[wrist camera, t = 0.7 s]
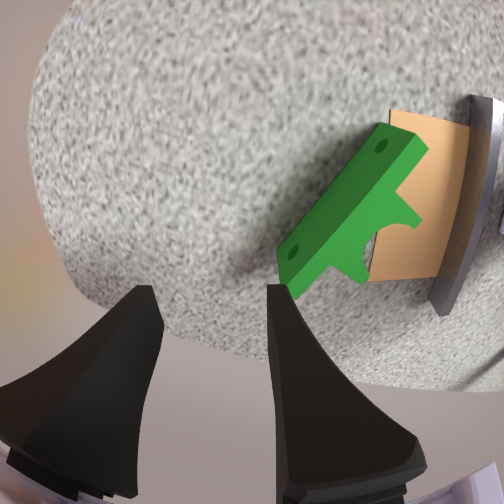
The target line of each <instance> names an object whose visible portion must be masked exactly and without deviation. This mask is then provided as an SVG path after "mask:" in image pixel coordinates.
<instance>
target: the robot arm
mask: <svg viewBox="0 0 504 504" xmlns="http://www.w3.org/2000/svg"><path fill="white" fill-rule="evenodd" d="M499 230H500V233H501V234H504V215H503V219H502V222H501V225H500V229H499ZM163 331H164V322H163V319H162V316H161V313H160V310H159V307H158V304H157V301H156V298H155V295H154V292H153V288H152V286H149V285H137V286H136V287H134V288H133V289H132V290H131V291H130V292H129V293H128V294H126V295H125V296H124V297H123V298H122V299H121V300H120V301H119V302H118V303H117V304H116V305H115V306H114V307H113V308H112V309H111V310H110V311H108V312H107V313H106V314H105V315H104V316H103V317H102V318H101V319H100V320H99V321H98V322H97V323H96V324H95V325H94V326H92V327H91V328H90V329H89V330H88V331H87V332H85V333H84V334H83V335H82V336H81V337H80V338H79V339H78V340H77V341H75V342H74V343H73V344H71V345H70V346H69V347H68V348H66V349H65V350H64V351H62V352H61V353H60V354H58V355H57V356H55V357H54V358H52V359H51V360H50V361H48V362H46V363H45V364H43V365H42V366H40V367H39V368H37V369H36V370H34V371H32V372H30V373H29V374H27V375H25V376H23V377H21V378H19V379H17V380H15V381H13V382H11V383H9V384H7V385H4V386H2V387H0V440H1V441H2V442H4V443H5V444H6V445H8V446H9V447H11V448H10V451H9V453H8V452H6V451H5V450H3V449H1V448H0V504H69V503H70V504H113V503H109V502H107V501H104V500H103V495H105V496H108V497H111V498H113V496H114V494H115V495H119V496H122V497H125V498H129V499H131V498H134V497H135V496H137V495H138V488H137V459H138V443H139V433H140V425H141V418H142V411H143V406H144V401H145V397H146V394H147V391H148V387H149V384H150V381H151V377H152V374H153V371H154V368H155V365H156V361H157V358H158V355H159V351H160V347H161V343H162V337H163ZM267 336H268V356H269V364H270V372H271V379H272V388H273V395H274V403H275V416H276V417H275V418H276V504H504V498H503V493H502V489H501V484H500V480H499V476H498V472H497V468H496V465H495V462H494V461H493V462H490V463H489V464H487V465H485V466H484V467H482V468H480V469H478V470H477V471H475V472H473V473H471V474H469V475H467V476H465V477H463V478H461V479H459V480H458V481H456V482H454V483H452V484H451V485H448V486H446V487H444V488H442V489H439V490H437V491H435V492H432V493H430V494H428V495H425V496H423V497H421V498H418V499H415V500H412V501H410V502H406V503H404V499H403V495H405V494H406V492H407V490H406V484H405V483H406V482H408V481H410V480H412V479H414V478H416V477H417V476H419V475H421V474H422V473H424V471H425V470H426V468H427V464H426V460H425V456H424V453H423V451H422V448H421V446H420V443H419V441H418V439H417V437H416V436H415V435H413V434H412V433H410V432H409V431H408V430H406V429H405V428H403V427H402V426H400V425H399V424H398V423H396V422H395V421H394V420H392V419H391V418H390V417H389V416H387V415H386V414H385V413H384V412H382V411H381V410H380V409H379V408H378V407H376V406H375V405H374V404H373V403H372V402H371V401H370V400H369V399H368V398H367V397H366V396H365V395H364V394H363V393H362V392H361V391H359V390H358V389H357V388H356V387H355V386H354V385H353V384H352V383H351V382H350V380H349V379H348V378H347V377H346V376H345V375H344V374H343V373H342V372H341V371H340V369H339V368H338V367H337V366H336V365H335V363H334V362H333V361H332V360H331V358H330V357H329V356H328V355H327V353H326V352H325V351H324V349H323V348H322V347H321V345H320V344H319V342H318V341H317V339H316V338H315V337H314V335H313V334H312V332H311V330H310V329H309V327H308V326H307V324H306V322H305V321H304V319H303V317H302V316H301V314H300V312H299V310H298V308H297V306H296V304H295V303H294V300H293V298H292V296H291V294H290V291H289V289H288V286H286V285H285V284H269V285H267Z"/></svg>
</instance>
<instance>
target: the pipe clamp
mask: <svg viewBox="0 0 504 504" xmlns="http://www.w3.org/2000/svg"><path fill="white" fill-rule="evenodd" d="M428 150H429V148H428V147H427V145H426V144H425V143H424V142H423V141H422V140H421V138H420V137H419V136H418V135H417V134H416V133H413V132H410V131H407V130H404V129H402V128H399V127H396V126H393V125H389V124H386V123H383V122H381V123H380V124H379V125H378V126H377V128H376V129H375V130H374V131H373V133H372V134H371V135H370V136H369V138H368V139H367V140H366V141H365V143H364V144H363V145H362V146H361V148H360V149H359V150H358V152H357V153H356V154H355V155H354V157H353V158H352V159H351V160H350V161H349V163H348V164H347V165H346V166H345V168H344V169H343V170H342V171H341V173H340V174H339V175H338V176H337V178H336V179H335V180H334V181H333V183H332V184H331V185H330V186H329V187H328V189H327V190H326V191H325V192H324V194H323V195H322V196H321V197H320V199H319V200H318V201H317V202H316V203H315V205H314V206H313V207H312V208H311V210H310V211H309V212H308V213H307V214H306V216H305V217H304V218H303V219H302V220H301V222H300V223H299V224H298V225H297V226H296V228H295V229H294V230H293V231H292V233H291V234H290V235H289V236H288V237H287V239H286V240H285V241H284V242H283V243H282V245H281V246H280V247H279V248H278V249H277V257H278V268H279V278H280V284H285V285H286V286H288V289H289V291H290V294H291V296H292V298H294V299H297V298H298V297H299V296H300V295H301V294H302V293H303V292H304V291H305V290H306V289H307V288H308V287H309V286H310V285H311V284H312V283H313V282H314V281H315V280H316V279H317V278H318V277H319V276H320V275H321V274H322V273H323V272H324V271H325V269H326V268H327V267H328V266H329V265H332V266H333V267H335V268H337V269H338V270H340V271H341V272H343V273H344V274H346V275H347V276H349V277H350V278H352V279H353V280H355V281H356V282H358V283H359V284H361V285H362V284H363V283H364V282H365V281H366V280H367V279H368V278H369V277H370V275H369V273H368V271H367V269H366V267H365V265H364V263H363V261H362V256H363V251H364V248H365V246H366V244H367V242H368V241H369V240H370V238H371V237H372V236H373V235H374V234H375V233H376V232H377V231H379V230H380V229H382V228H384V227H386V226H388V225H392V224H405V225H408V226H410V227H412V228H413V229H415V228H416V227H417V226H418V225H419V224H420V223H421V221H422V218H421V217H420V216H419V215H418V214H417V213H416V212H415V211H414V210H413V209H412V208H411V207H410V206H409V205H408V204H407V203H406V202H405V201H404V200H403V199H402V198H401V197H400V196H399V195H398V194H397V193H396V192H395V191H396V190H397V189H398V187H399V186H400V185H401V184H402V183H403V181H404V180H405V179H406V178H407V176H408V175H409V174H410V173H411V171H412V170H413V169H414V168H415V166H416V165H417V164H418V163H419V161H420V160H421V159H422V158H423V156H424V155H425V154H426V152H427V151H428Z"/></svg>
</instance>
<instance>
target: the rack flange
mask: <svg viewBox="0 0 504 504" xmlns="http://www.w3.org/2000/svg"><path fill="white" fill-rule="evenodd" d="M503 107H504V103H502V102H500V101H497V100H495V99H492V98H487V97H482V96H477V95H471V114H470V127H469V126H466V125H462V124H458V123H455V122H451V121H447V120H443V119H438V118H434V117H429V116H425V115H420V114H415V113H409V112H404V111H398V110H391V115H390V125H393V126H396V127H399V128H402V129H404V130H407V131H410V132H413V133H416V134H417V135H418V136H419V137H420V138H421V140H422V141H423V142H424V143H425V144H426V145H427V147H428V148H429V150H428V151H427V152H426V154H425V155H424V156H423V158H422V159H421V160H420V161H419V163H418V164H417V165H416V166H415V168H414V169H413V170H412V171H411V173H410V174H409V175H408V176H407V178H406V179H405V180H404V181H403V183H402V184H401V185H400V186H399V187H398V189H397V190H396V191H395V192H396V193H397V194H398V195H399V196H400V197H401V198H402V199H403V200H404V201H405V202H406V203H407V204H408V205H409V206H410V207H411V208H412V209H413V210H414V211H415V212H416V213H417V214H418V215H419V216H420V217H421V218H422V221H421V223H420V224H419V225H418V226H417V227H416V228H415V229H413V228H412V227H410V226H408V225H405V224H392V225H388V226H386V227H384V228H382V229H380V230H379V231H377V236H376V242H375V247H374V252H373V257H372V262H371V266H370V271H369V275H370V277H369V278H368V280H367V282H370V281H386V280H401V279H414V278H427V277H436V279H435V281H434V284H433V287H432V289H431V292H430V295H429V297H428V299H429V301H430V302H431V304H432V306H433V307H434V309H435V310H436V312H437V314H438V316H439V317H440V316H446V315H449V314H450V312H451V310H452V308H453V306H454V303H455V301H456V299H457V297H458V294H459V292H460V290H461V288H462V285H463V283H464V280H465V278H466V275H467V273H468V270H469V268H470V265H471V262H472V260H473V257H474V254H475V251H476V248H477V245H478V242H479V239H480V236H481V233H482V229H483V226H484V222H485V219H486V215H487V212H488V208H489V204H490V199H491V195H492V191H493V186H494V181H495V176H496V171H497V165H498V158H499V151H500V144H501V135H502V124H503Z"/></svg>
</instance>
